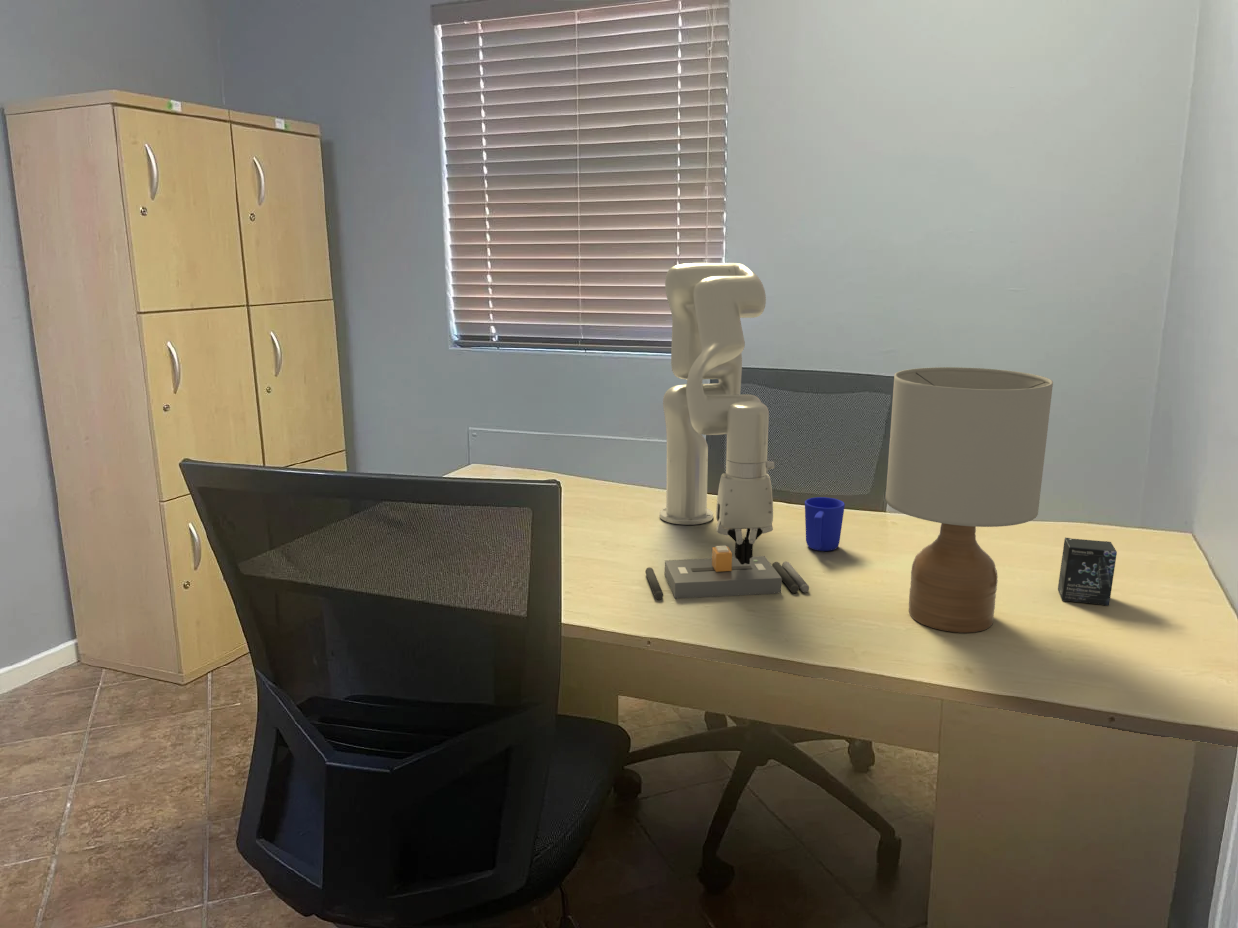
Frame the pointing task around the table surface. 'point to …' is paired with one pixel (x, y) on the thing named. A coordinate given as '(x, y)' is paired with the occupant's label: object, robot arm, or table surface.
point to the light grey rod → (795, 576)
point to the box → (1087, 571)
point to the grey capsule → (786, 577)
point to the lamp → (964, 478)
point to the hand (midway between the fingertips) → (743, 561)
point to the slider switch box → (721, 578)
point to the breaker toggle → (721, 558)
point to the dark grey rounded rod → (654, 583)
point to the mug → (823, 522)
